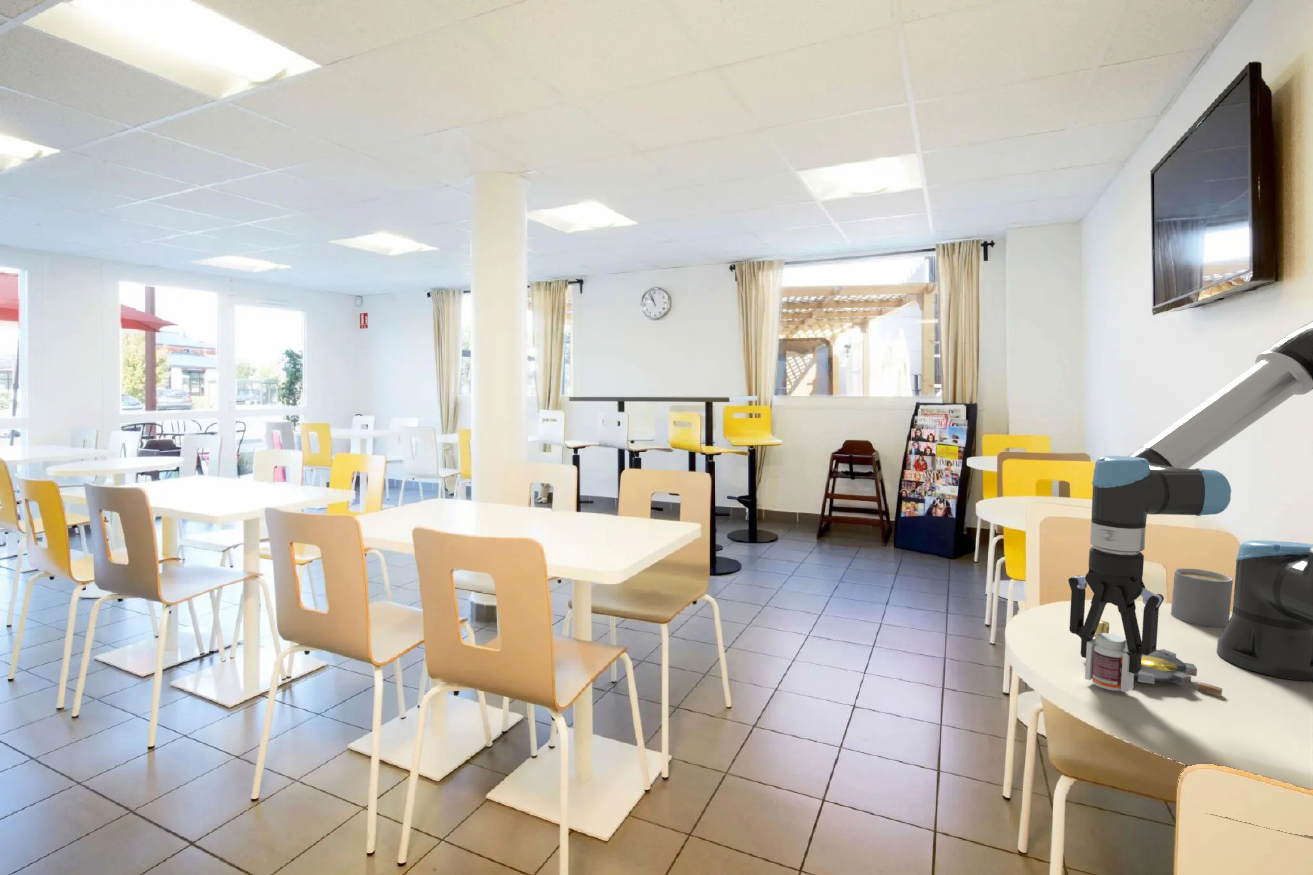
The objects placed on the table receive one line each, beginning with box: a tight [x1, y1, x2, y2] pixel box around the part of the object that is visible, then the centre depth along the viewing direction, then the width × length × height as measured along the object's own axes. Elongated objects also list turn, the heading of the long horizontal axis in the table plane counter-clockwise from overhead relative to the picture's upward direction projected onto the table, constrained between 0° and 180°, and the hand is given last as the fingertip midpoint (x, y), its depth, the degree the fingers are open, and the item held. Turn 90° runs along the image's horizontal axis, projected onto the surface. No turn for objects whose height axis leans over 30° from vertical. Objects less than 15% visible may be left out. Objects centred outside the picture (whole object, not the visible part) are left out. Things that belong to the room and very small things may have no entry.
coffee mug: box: [1170, 567, 1234, 628], centre depth 148 cm, size 13×10×10 cm
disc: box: [1094, 620, 1198, 686], centre depth 120 cm, size 17×17×6 cm
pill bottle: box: [1091, 632, 1126, 692], centre depth 113 cm, size 5×5×8 cm
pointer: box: [1196, 681, 1223, 698], centre depth 112 cm, size 3×1×1 cm, turn 38°
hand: (1108, 682), depth 113 cm, fingers closed on pill bottle, 5 cm apart
